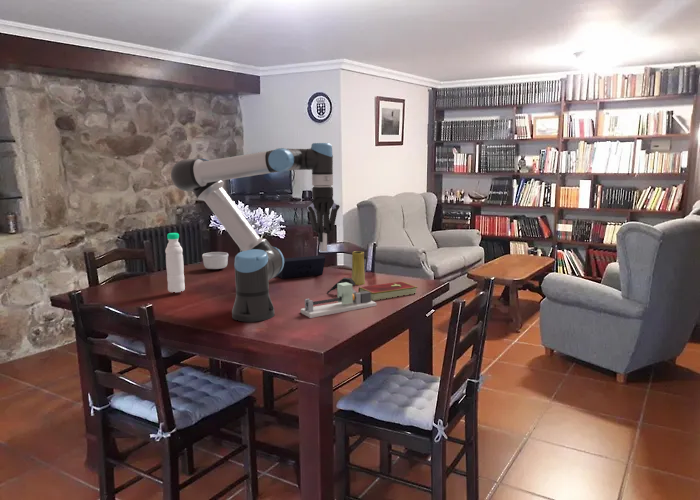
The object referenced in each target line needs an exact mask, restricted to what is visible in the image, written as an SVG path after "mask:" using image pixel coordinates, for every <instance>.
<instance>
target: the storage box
mask: <svg viewBox="0 0 700 500" xmlns="http://www.w3.org/2000/svg"><path fill="white" fill-rule="evenodd" d="M325 263H326V257H325V255H323V254H322V255H310V256H308V255H307V256H300V257H299V256H298V257H297V256H295V257H286V258H285V257H284V267H283V269H282V271H281V272H280V273H279V274H278V275H277V276H276V277H278V278H280V279H293V278H301V277H311V276H319V275H320V276H321V275H323V273H324V268H325V267H324V266H325Z"/></svg>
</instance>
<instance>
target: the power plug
mask: <svg viewBox="0 0 700 500" xmlns="http://www.w3.org/2000/svg"><path fill="white" fill-rule="evenodd" d="M344 282H347V283H350V284H352V288H353V286H356V285H355V282H354V281H353V280H352V277H351V278H350V277H343V278H342V279H340V280H339V281H338V282H336V283H335V284H333V286H332V287H330V289H329V290H328V291H326V293H327V294H329V293H331V291H335V290H336V289H337V283H344ZM355 291H356V290H355V289H354V288H353V292H355Z"/></svg>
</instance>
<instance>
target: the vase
mask: <svg viewBox="0 0 700 500" xmlns="http://www.w3.org/2000/svg"><path fill="white" fill-rule="evenodd" d="M351 261H352V263H351V278H352V280H353V281H354V282H355V285H354V286H362V285H365V284H366V280H365V279H366V278H365V277H366V275H365V252H364V251H362V250H361V251H360V250H359V251H358V250H355V251H352V253H351Z"/></svg>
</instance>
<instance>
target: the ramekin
mask: <svg viewBox="0 0 700 500" xmlns="http://www.w3.org/2000/svg"><path fill="white" fill-rule="evenodd" d="M201 256H202V262H203V267H204V268H205V269H207V270H219V269H224V268H227V266H228V262H229V261H228V260H229V253H228V252H224V251H211V252H206V253H205V252H204V253H203V254H202V255H201Z"/></svg>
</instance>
